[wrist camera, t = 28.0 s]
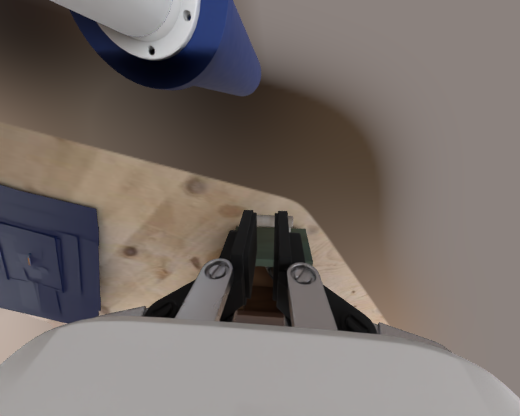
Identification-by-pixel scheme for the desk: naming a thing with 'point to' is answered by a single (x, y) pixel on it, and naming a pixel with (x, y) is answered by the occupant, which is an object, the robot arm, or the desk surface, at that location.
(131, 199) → the desk surface
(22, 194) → the dark blue flat piece
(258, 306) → the drawer
